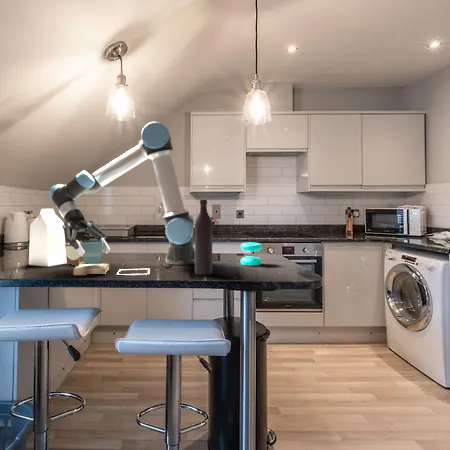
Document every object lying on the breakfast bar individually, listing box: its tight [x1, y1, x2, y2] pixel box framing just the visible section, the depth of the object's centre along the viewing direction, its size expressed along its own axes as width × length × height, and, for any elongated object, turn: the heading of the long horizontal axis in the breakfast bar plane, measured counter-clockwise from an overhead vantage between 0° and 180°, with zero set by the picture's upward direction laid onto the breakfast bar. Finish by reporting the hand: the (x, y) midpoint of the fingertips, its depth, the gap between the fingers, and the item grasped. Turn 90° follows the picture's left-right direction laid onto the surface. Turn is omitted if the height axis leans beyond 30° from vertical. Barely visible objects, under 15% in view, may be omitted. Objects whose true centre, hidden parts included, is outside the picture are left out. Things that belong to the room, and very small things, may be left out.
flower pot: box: [79, 239, 104, 264], centre depth 157 cm, size 9×9×9 cm
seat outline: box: [115, 268, 151, 276], centre depth 158 cm, size 13×13×1 cm
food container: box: [64, 241, 85, 266], centre depth 179 cm, size 12×6×10 cm, turn 58°
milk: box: [28, 208, 67, 267], centre depth 179 cm, size 12×12×26 cm
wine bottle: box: [194, 199, 213, 276], centre depth 154 cm, size 7×7×30 cm
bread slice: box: [73, 263, 110, 276], centre depth 158 cm, size 12×12×3 cm
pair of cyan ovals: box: [240, 242, 263, 267], centre depth 179 cm, size 10×10×10 cm
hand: (96, 252), depth 156 cm, fingers open, 12 cm apart
